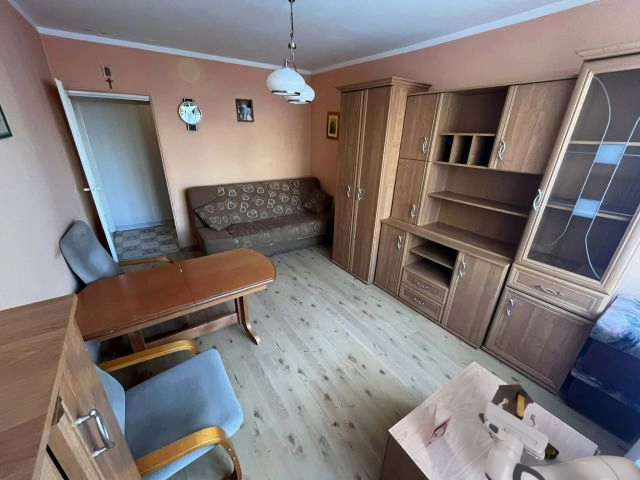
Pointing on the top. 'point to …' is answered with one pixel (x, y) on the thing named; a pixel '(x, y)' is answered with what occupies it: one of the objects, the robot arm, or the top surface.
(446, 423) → the greeting card
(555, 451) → the tape measure
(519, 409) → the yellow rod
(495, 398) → the pedestal
